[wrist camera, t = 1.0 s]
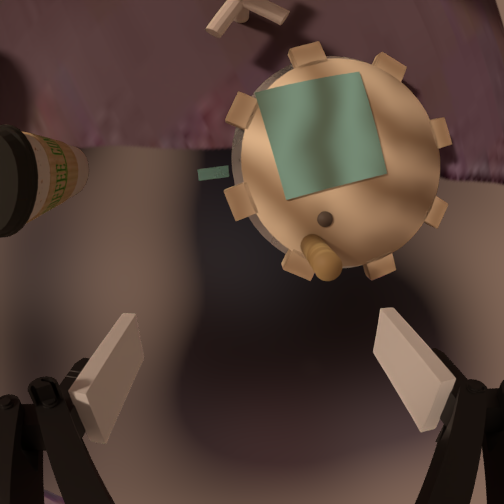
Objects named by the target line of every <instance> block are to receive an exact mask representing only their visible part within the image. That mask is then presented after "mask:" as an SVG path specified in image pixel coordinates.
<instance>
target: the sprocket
mask: <svg viewBox="0 0 504 504" xmlns="http://www.w3.org/2000/svg"><path fill="white" fill-rule="evenodd" d="M288 57H289V59H290V61H291V63H292V66H293V68H294V69H292V70H290V71H288V72H287V73H285V74H284V75H283V76H281V77H280V78H278V79H277V80H276V81H275V82H274V83H273V84H272V85H271V86H270V87H269V88H268V89H267V90H263V91H259V92H255V96H256V98H254V97H251V96H249V95H246V94H244V93H241V92H239V91H238V93H237V96H236V98H235V100H234V102H233V104H232V106H231V108H230V110H229V112H228V115H227V117H226V119H225V121H226V123H228V124H231V125H233V126H236V127H238V128H241V129H243V130H245V132H244V136H243V140H242V151H241V166H242V175H243V180H244V182H243V183H240V184H237V185H235V186H232V187H230V188H227V189H225V190H224V193H225V196H226V198H227V201H228V203H229V206H230V208H231V211H232V213H233V216H234V218H235V220H236V221H238V220H240V219H243V218H245V217H248V216H251V215H253V214H257V216H258V217H259V219H260V221H261V222H262V224H263V225H264V226H265V227H266V229H267V230H268V231H269V232H270V233H271V234H272V236H274V237H275V238H276V239H277V240H278V241H279V242H280V243H281V244H282V245H284V246H285V247H287V248H288V251H287V253H286V255H285V257H284V259H283V261H282V267H283V269H284V270H286V271H288V272H290V273H293V274H295V275H298V276H300V277H302V278H305V279H307V280H310V281H311V279H312V277H313V275H314V273H316V275H317V277H318V278H320V279H321V280H324V281H331V280H334V279H335V278H337V277H338V276H339V275H340V273H341V271H342V266H343V267H344V266H358V265H363V268H364V271H365V275H366V276H367V277H368V278H369V279H370V280H374V279H376V278H379V277H381V276H383V275H386V274H388V273H390V272H393V271H395V270H396V267H395V263H394V259H393V254H392V253H393V252H395V251H396V250H398V249H399V248H401V247H402V246H403V245H404V244H406V243H407V242H408V241H409V240H410V239H411V238H412V237H413V236H414V235H415V234H416V232H417V231H418V230H419V229H420V227H421V226H422V224H423V223H424V222H425V223H426V224H428V225H430V226H432V227H435V228H438V227H439V224H440V222H441V220H442V218H443V215H444V213H445V211H446V209H447V206H448V204H447V203H446V202H445V201H443V200H441V199H440V198H439V197H437V196H436V194H437V190H438V185H439V178H440V154H439V148H442V147H445V146H448V145H451V144H452V142H451V138H450V135H449V131H448V128H447V125H446V122H445V118H444V117H443V118H436V119H432V120H430V119H429V117H428V115H427V113H426V111H425V109H424V108H423V106H422V105H421V103H420V102H419V100H418V99H417V98H416V97H415V96H414V94H413V93H412V92H411V91H410V90H409V89H408V88H407V87H406V86H405V85H404V84H403V83H402V82H401V81H402V78H403V76H404V73H405V70H406V68H407V67H406V66H404V65H402V64H401V63H399V62H398V61H396V60H395V59H393V58H391V57H390V56H388V55H387V54H385V53H383V52H381V53H380V54H378V55H377V56H376V57H375V59H374V61H373V64H372V65H371V64H368V63H365V62H361V61H357V60H352V59H342V58H332V59H327V57H326V55H325V53H324V51H323V49H322V47H321V44H320V42H319V41H318V42H314V43H310V44H306V45H302V46H298V47H294V48H291V49H290V50H289V52H288Z"/></svg>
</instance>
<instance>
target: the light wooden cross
mask: <svg viewBox="0 0 504 504" xmlns="http://www.w3.org/2000/svg"><path fill="white" fill-rule="evenodd" d="M249 10H250V11H252V12H254V13H256V14H258V15H261V16H263V17H265V18H267V19H269V20H271V21H273V22H275V23H277V24H279V25H282V24H283V22H284V21H285V20H286V18H287V16H288V15H289V12H290V11H288V10H286V9H284V8H282V7H280V6H278V5H276V4H274V3H272V2H270V1H268V0H227V1H226V2H225V3H224V5H223V6H222V7H221V9H220V10H219V11H218V12H217V14H216V15H215V16H214V18H213V19H212V20H211V22H210V23H209V24H208V26H207V27H206V28H205V30H206V31H207V32H208V33H209V34H211V35H213V36H215V37H217V38H221V36H222V35H223V34H224V32H225V31H226V30H227V28H228V27H229V26H230V24H231V23H232V21H233V20H234V21H235V22H237V23H244V22H246V21H247V20H248V19H249Z"/></svg>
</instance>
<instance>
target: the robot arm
mask: <svg viewBox="0 0 504 504" xmlns="http://www.w3.org/2000/svg"><path fill="white" fill-rule="evenodd" d="M373 353H374V355H375V356H376V358H377V359H378V361H379V363H380V364H381V366H382V368H383V369H384V371H385V373H386V374H387V376H388V378H389V379H390V381H391V382H392V384H393V386H394V387H395V389H396V391H397V393H398V394H399V396H400V398H401V399H402V401H403V403H404V404H405V406H406V408H407V410H408V411H409V413H410V414H411V416H412V418H413V420H414V422H415V423H416V425H417V427H418V428H419V430H420V432H424V431H428V430H432V429H435V428H436V426H437V424H438V422H439V419H441V420H442V422H443V423H444V425H443V427H442V429H441V431H440V433H439V435H438V438H437V439H436V442H437V445H436V449H435V452H434V455H433V458H432V461H431V464H430V466H429V469H428V472H427V475H426V477H425V480H424V483H423V485H422V488H421V490H420V493H419V495H418V498H417V500H416V502H415V504H470V500H471V497H472V493H473V489H474V485H475V479H476V475H477V471H478V465H479V460H480V454H481V448H482V450H483V459H484V469H485V480H486V495H487V504H504V380H503V381H502V383H501V385H500V388H495V389H487V387H486V386H485V385H484V384H483V383H482V382H480V381H477V380H472V379H469V380H467V378H466V377H465V376H464V375H463V374H462V373H461V372H460V370H459V369H458V368H457V367H456V366H455V365H453V363H452V361H451V360H449V358H448V357H447V356H446V355H445V354H444V353H443V352H441V351H440V350H438V349H436V348H433V349H430V348H429V346H428V345H427V344H426V343H425V342H424V341H423V340H422V339H421V338H420V336H419V335H418V334H417V333H416V332H415V331H414V330H413V329H412V328H411V326H410V325H409V324H408V323H407V322H406V321H405V320H404V319H403V318H402V317H401V316H400V315H399V313H397V311H396V310H395V309H394V308H381V309H380V315H379V321H378V327H377V333H376V338H375V344H374V349H373ZM143 360H144V354H143V348H142V343H141V338H140V333H139V327H138V321H137V315H136V314H133V313H123V314H122V315H121V316H120V318H119V319H118V321H117V322H116V323H115V325H114V326H113V327H112V329H111V330H110V331H109V333H108V334H107V336H106V337H105V338H104V340H103V341H102V343H101V344H100V345H99V347H98V348H97V350H96V351H95V352H94V354H93V355H92V357H91V358H90V359H88V358H83V359H81V360H80V361H78V362H77V363H75V364H74V366H73V367H72V369H71V370H70V372H69V373H68V374H67V377H65V379H64V380H63V381H62V383H61V384H60V385H58V382H57V381H56V379H54V378H52V377H47V376H46V377H40V378H37V379H35V380H34V381H32V382H31V383H30V384H29V386H28V392H29V394H30V396H31V399H32V401H33V403H34V404H21V402H20V400H19V399H18V397H17V396H15V395H9V394H8V395H4V396H2V397H0V504H44V487H43V450H46V451H47V453H48V457H49V460H50V463H51V466H52V470H53V472H54V475H55V478H56V481H57V484H58V486H59V489H60V492H61V494H62V497H63V500H64V502H65V504H115V503H114V501H113V499H112V497H111V496H110V494H109V492H108V490H107V488H106V487H105V485H104V483H103V481H102V479H101V477H100V475H99V473H98V471H97V469H96V467H95V465H94V463H93V461H92V459H91V457H90V455H89V452H88V450H87V448H86V446H85V444H84V442H83V439H82V437H83V435H84V433H85V432H86V434H87V436H88V438H89V440H90V441H93V442H98V443H104V444H106V443H107V441H108V438H109V436H110V433H111V431H112V429H113V426H114V424H115V422H116V420H117V417H118V415H119V413H120V410H121V408H122V406H123V404H124V401H125V399H126V397H127V395H128V392H129V390H130V388H131V386H132V383H133V381H134V379H135V377H136V375H137V373H138V370H139V368H140V366H141V364H142V362H143Z"/></svg>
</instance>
